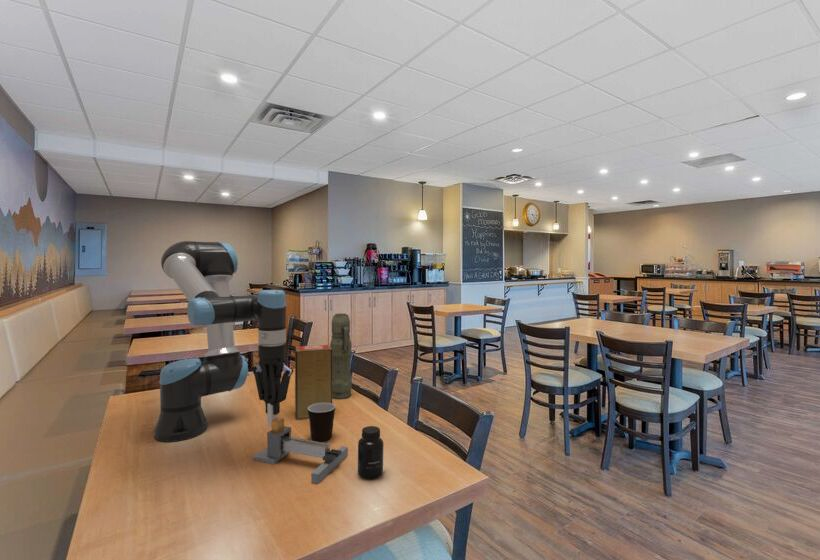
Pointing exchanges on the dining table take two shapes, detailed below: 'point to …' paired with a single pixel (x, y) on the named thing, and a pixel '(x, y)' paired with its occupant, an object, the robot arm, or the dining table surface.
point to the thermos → (341, 357)
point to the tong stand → (317, 473)
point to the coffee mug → (321, 421)
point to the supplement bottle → (370, 453)
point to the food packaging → (312, 377)
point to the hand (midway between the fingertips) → (272, 424)
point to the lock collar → (276, 437)
